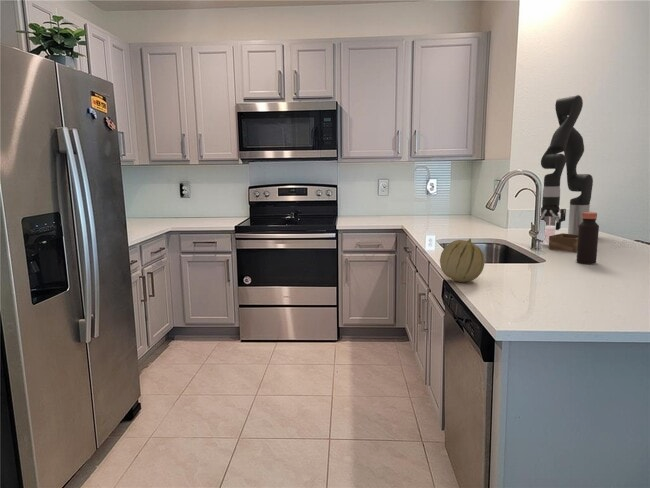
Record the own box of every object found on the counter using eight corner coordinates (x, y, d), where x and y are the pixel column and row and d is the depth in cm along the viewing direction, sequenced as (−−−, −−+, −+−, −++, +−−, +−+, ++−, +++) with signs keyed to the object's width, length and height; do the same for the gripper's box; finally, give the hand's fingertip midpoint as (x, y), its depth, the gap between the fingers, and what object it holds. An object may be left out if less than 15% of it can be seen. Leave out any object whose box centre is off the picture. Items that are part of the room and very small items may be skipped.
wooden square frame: (561, 245, 210) (562, 233, 209) (588, 248, 200) (588, 235, 199) (548, 248, 203) (549, 236, 202) (575, 252, 193) (575, 238, 192)
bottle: (579, 260, 177) (582, 211, 174) (598, 262, 173) (602, 212, 169) (574, 263, 173) (577, 213, 169) (593, 265, 168) (597, 214, 164)
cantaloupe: (430, 280, 154) (431, 238, 151) (460, 274, 161) (461, 234, 158) (462, 289, 141) (463, 244, 138) (493, 282, 148) (494, 239, 145)
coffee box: (536, 238, 230) (538, 208, 227) (549, 238, 229) (551, 208, 226) (541, 241, 221) (543, 210, 219) (554, 241, 220) (556, 210, 217)
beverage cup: (540, 243, 218) (542, 215, 215) (554, 243, 216) (555, 215, 214) (542, 245, 212) (544, 216, 210) (556, 245, 210) (558, 216, 208)
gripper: (570, 195, 206) (568, 229, 209) (541, 194, 218) (539, 227, 221) (562, 196, 202) (559, 231, 205) (532, 195, 214) (531, 228, 216)
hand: (549, 229), depth 213 cm, fingers open, 7 cm apart
